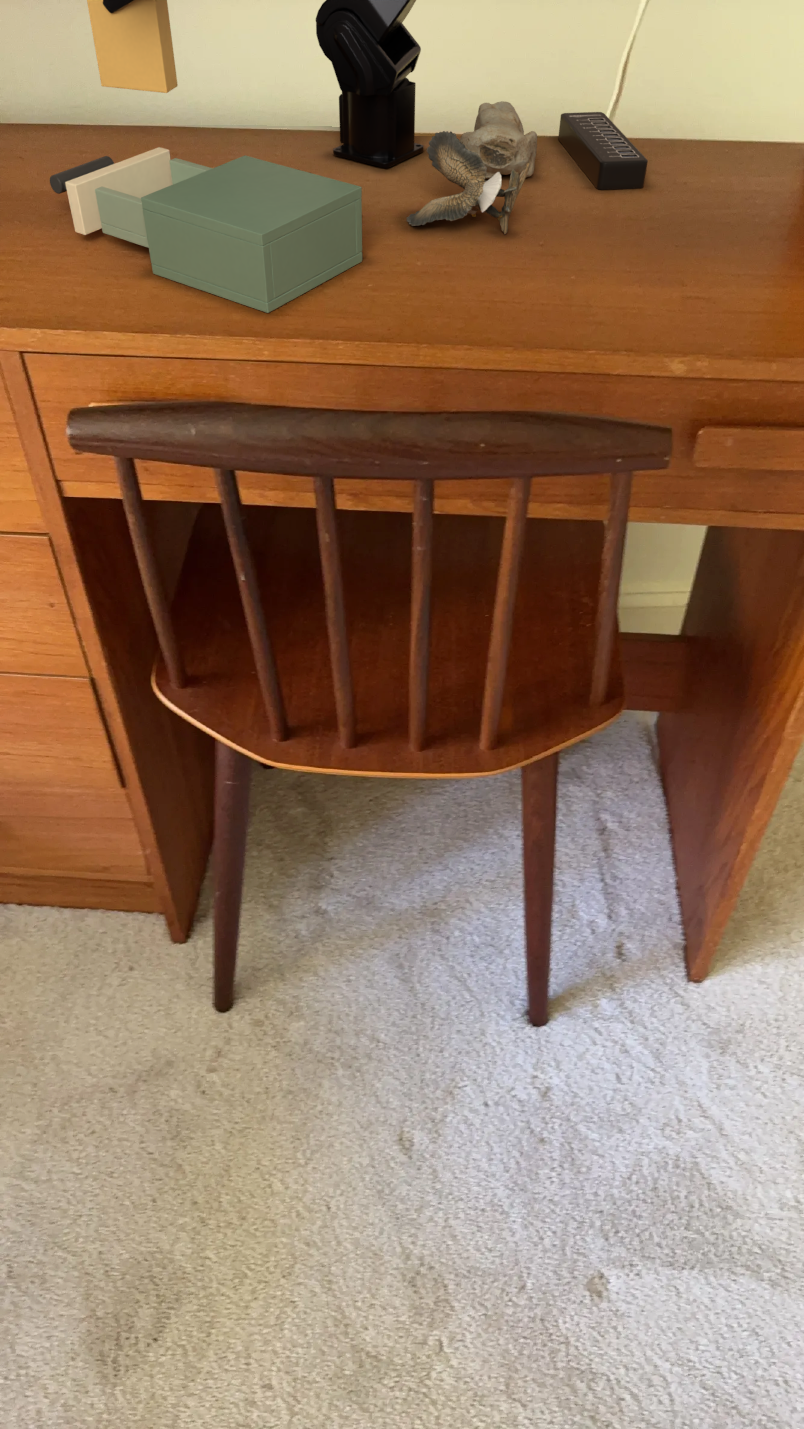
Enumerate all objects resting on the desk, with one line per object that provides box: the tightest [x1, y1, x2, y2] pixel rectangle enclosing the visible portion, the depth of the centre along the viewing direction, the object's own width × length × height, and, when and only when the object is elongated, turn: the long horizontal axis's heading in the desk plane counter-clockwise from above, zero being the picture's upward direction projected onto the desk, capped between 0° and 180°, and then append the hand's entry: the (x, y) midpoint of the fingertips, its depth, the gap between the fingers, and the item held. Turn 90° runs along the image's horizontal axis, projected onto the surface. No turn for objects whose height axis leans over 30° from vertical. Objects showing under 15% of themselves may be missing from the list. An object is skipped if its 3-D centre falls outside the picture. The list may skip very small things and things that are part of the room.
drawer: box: [49, 146, 214, 249], centre depth 84 cm, size 15×10×4 cm
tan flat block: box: [86, 0, 179, 94], centre depth 98 cm, size 7×2×10 cm, turn 74°
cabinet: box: [141, 155, 363, 314], centre depth 79 cm, size 12×12×6 cm
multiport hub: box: [557, 111, 649, 191], centre depth 98 cm, size 4×14×2 cm, turn 9°
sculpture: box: [459, 100, 538, 180], centre depth 97 cm, size 7×5×15 cm
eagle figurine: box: [406, 130, 530, 235], centre depth 86 cm, size 8×7×9 cm
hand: (114, 4), depth 97 cm, fingers closed on tan flat block, 2 cm apart
